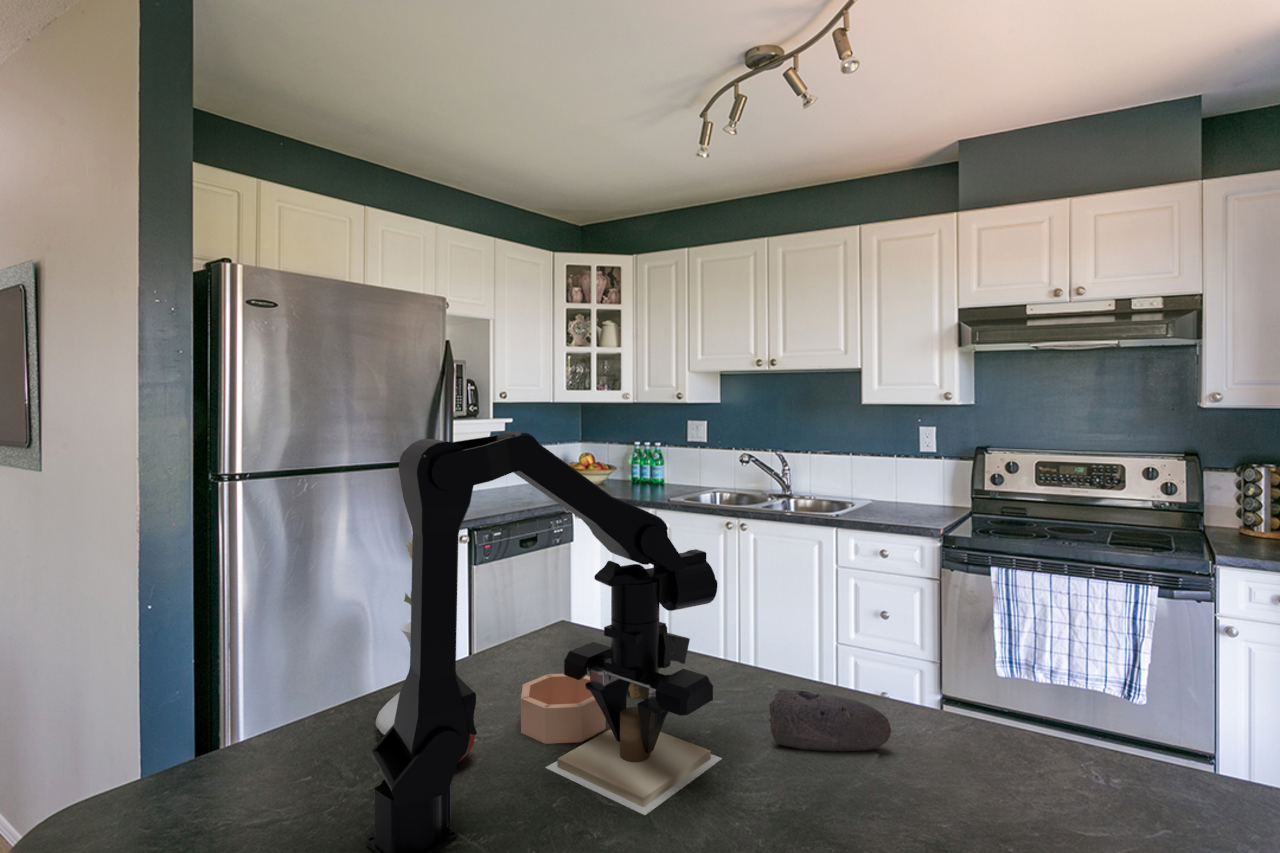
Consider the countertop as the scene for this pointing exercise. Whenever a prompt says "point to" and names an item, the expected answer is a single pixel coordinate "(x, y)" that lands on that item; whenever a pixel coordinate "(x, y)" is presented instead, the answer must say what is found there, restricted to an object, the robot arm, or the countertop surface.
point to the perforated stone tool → (826, 722)
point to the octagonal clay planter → (560, 710)
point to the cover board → (634, 761)
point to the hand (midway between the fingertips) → (634, 746)
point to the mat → (628, 803)
